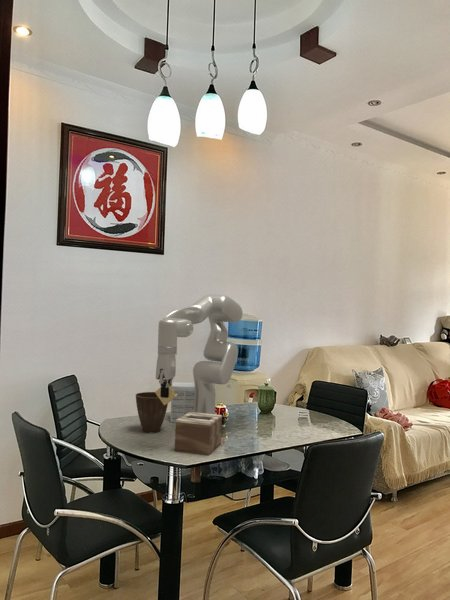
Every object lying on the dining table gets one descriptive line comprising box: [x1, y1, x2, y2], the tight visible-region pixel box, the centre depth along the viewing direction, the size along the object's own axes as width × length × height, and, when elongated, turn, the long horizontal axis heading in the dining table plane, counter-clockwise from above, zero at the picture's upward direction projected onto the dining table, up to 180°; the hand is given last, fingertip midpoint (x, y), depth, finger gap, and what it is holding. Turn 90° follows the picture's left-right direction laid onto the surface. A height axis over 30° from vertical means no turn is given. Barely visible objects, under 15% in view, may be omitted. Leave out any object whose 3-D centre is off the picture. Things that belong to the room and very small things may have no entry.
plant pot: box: [135, 391, 169, 433], centre depth 228 cm, size 15×15×16 cm
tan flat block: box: [154, 383, 177, 405], centre depth 203 cm, size 2×6×6 cm
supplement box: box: [170, 381, 195, 423], centre depth 252 cm, size 13×13×18 cm
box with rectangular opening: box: [174, 412, 223, 456], centre depth 204 cm, size 16×14×12 cm
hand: (165, 396), depth 203 cm, fingers closed on tan flat block, 2 cm apart
